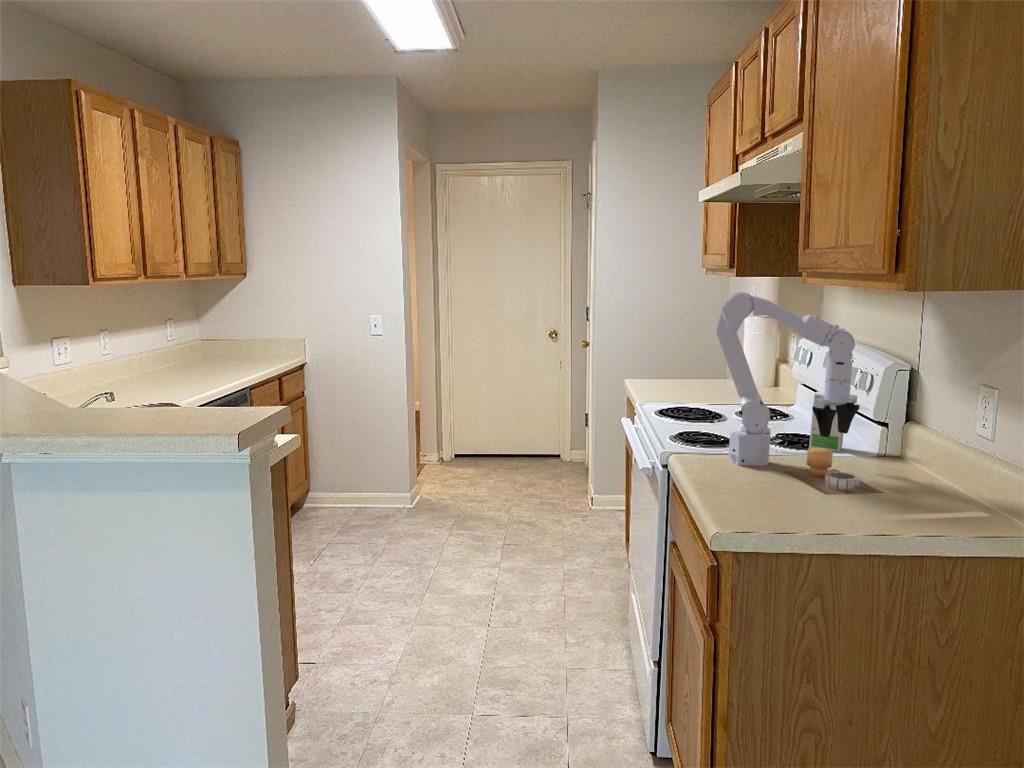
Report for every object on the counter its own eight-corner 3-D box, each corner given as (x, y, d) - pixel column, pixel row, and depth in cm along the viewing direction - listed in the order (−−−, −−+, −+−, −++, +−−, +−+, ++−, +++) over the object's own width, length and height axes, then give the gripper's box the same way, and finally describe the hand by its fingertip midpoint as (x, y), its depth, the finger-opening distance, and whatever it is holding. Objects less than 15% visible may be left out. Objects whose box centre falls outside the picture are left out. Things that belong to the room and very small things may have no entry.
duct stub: (835, 491, 170) (836, 480, 170) (818, 482, 177) (819, 472, 177) (865, 490, 171) (866, 479, 171) (847, 481, 178) (848, 471, 178)
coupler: (813, 478, 181) (815, 453, 180) (801, 472, 187) (803, 448, 186) (835, 477, 182) (837, 452, 181) (823, 471, 187) (824, 447, 186)
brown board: (825, 497, 168) (825, 494, 168) (781, 474, 188) (781, 470, 188) (884, 495, 170) (884, 492, 170) (835, 472, 190) (835, 469, 190)
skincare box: (808, 448, 215) (812, 393, 213) (812, 444, 221) (815, 390, 218) (840, 452, 211) (845, 396, 209) (843, 447, 217) (847, 393, 214)
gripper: (835, 383, 179) (831, 440, 181) (870, 379, 187) (865, 434, 189) (808, 380, 185) (804, 435, 187) (843, 375, 193) (839, 429, 195)
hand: (833, 434), depth 188 cm, fingers open, 7 cm apart
